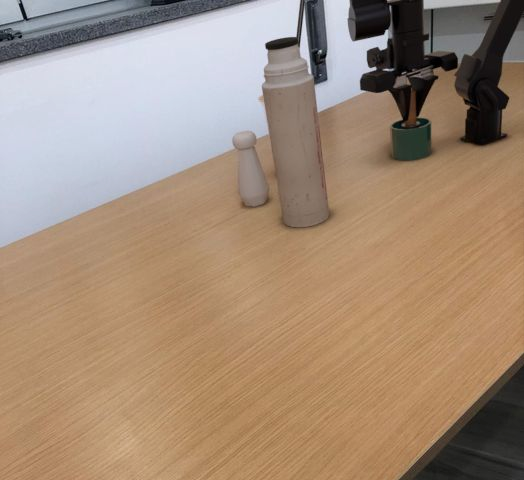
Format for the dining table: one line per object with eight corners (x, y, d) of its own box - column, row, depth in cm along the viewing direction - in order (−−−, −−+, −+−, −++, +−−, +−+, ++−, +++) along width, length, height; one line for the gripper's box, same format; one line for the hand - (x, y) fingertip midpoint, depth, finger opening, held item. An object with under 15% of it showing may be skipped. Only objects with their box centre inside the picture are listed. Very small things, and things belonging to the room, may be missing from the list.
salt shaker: (258, 210, 110) (245, 138, 103) (234, 207, 114) (220, 137, 106) (276, 197, 114) (265, 127, 106) (253, 195, 117) (240, 127, 110)
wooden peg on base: (412, 140, 122) (411, 88, 116) (424, 143, 119) (423, 90, 113) (398, 145, 121) (396, 93, 115) (409, 148, 118) (407, 95, 112)
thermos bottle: (331, 206, 106) (312, 30, 90) (326, 225, 99) (304, 39, 84) (287, 210, 108) (260, 38, 92) (279, 229, 101) (249, 48, 86)
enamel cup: (414, 144, 125) (413, 115, 122) (439, 152, 119) (439, 121, 116) (383, 155, 123) (382, 125, 119) (407, 163, 117) (406, 132, 113)
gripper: (420, 17, 117) (422, 100, 126) (340, 40, 112) (347, 125, 121) (460, 18, 108) (459, 107, 117) (375, 43, 103) (380, 134, 112)
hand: (410, 118), depth 117 cm, fingers closed on wooden peg on base, 2 cm apart
